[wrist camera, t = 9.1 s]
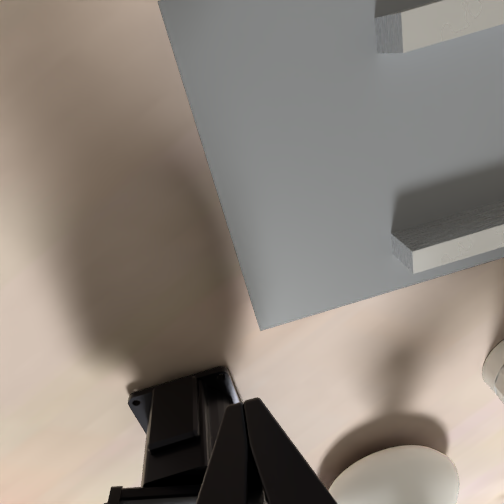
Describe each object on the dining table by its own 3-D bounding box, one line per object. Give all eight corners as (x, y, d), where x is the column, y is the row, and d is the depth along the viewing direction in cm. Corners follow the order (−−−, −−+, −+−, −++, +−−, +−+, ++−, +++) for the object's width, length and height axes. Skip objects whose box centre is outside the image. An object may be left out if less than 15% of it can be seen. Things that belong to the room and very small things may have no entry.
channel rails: (561, 203, 19) (598, 217, 17) (392, 253, 19) (413, 273, 17) (602, -48, 14) (661, -63, 12) (374, 18, 14) (401, 12, 12)
